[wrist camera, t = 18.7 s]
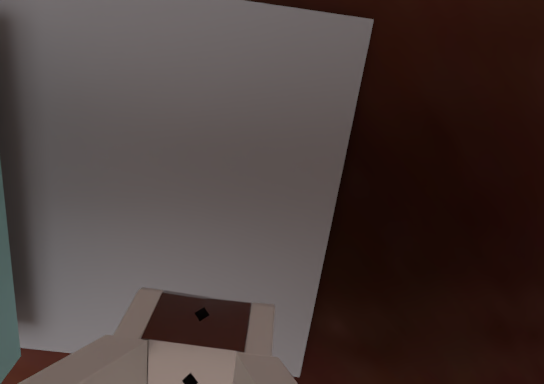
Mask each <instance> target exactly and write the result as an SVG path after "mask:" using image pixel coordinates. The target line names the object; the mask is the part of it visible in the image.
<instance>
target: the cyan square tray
mask: <svg viewBox="0 0 544 384" xmlns="http://www.w3.org/2000/svg"><path fill="white" fill-rule="evenodd" d="M20 356H21V351H20V341H19V332H18V322H17V313H16V303H15V294H14V285H13V275H12V266H11V256H10V247H9V237H8V228H7V218H6V209H5V199H4V190H3V180H2V171H1V161H0V384H1V382H2V381H3V380H4V378H5V377H6V376H7V374H8V373H9V371H10V370H11V369H12V367H13V366H14V365H15V363H16V362H17V361H18V359H19V358H20Z"/></svg>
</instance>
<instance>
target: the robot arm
mask: <svg viewBox="0 0 544 384" xmlns="http://www.w3.org/2000/svg"><path fill="white" fill-rule="evenodd" d="M250 310H251V311H250ZM274 314H275V306H274V304H265V303H256V302H252V305H251V303H248V302H241V301H233V300H225V299H217V298H210V297H205V296H199V295H192V294H186V293H179V292H173V291H167V290H165V291H163V290H159V289H152V288H145V287H142V288H141V289H139V290H138V292H137V293H136V295H135V297H134V299H133V300H132V302H131V304H130V306H129V308H128V309H127V311H126V313H125V315H124V317H123V318H122V320H121V322H120V324H119V325H118V327H117V329H116V331H115V333H114V334H113V336H112V335H105V336H103V337H101V338H99V339H97V340H96V341H94V342H92V343H90V344H88V345H87V346H85V347H83V348H81V349H79V350H78V351H76V352H74V353H72V354H70V355H69V356H67V357H65V358H63V359H61V360H60V361H58V362H56V363H54V364H52V365H51V366H49V367H47V368H45V369H43V370H42V371H40V372H38V373H36V374H34V375H33V376H31V377H29V378H27V379H25V380H23V381H22V382H20V383H18V384H298V383H297V382H296V381H295V379H294V378H293V376H292V375H291V374H290V372H289V371H288V370H287V368H286V367H285V366H284V364H283V363H282V362H281V360H280V359H279V358H278V357H272V345H273V330H274ZM249 318H250V319H249Z"/></svg>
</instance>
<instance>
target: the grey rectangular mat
mask: <svg viewBox="0 0 544 384" xmlns="http://www.w3.org/2000/svg"><path fill="white" fill-rule="evenodd" d="M373 22H374V19H368V18H361V17H354V16H347V15H340V14H334V13H327V12H320V11H313V10H306V9H300V8H293V7H286V6H279V5H272V4H266V3H259V2H252V1H245V0H0V161H1V171H2V180H3V190H4V199H5V209H6V218H7V228H8V237H9V247H10V256H11V266H12V275H13V285H14V294H15V303H16V313H17V322H18V332H19V341H20V348H28V349H37V350H46V351H56V352H65V353H74V352H76V351H78V350H79V349H81V348H83V347H85V346H87V345H88V344H90V343H92V342H94V341H96V340H97V339H99V338H101V337H103V336H105V335H112V336H113V334H114V333H115V331H116V329H117V327H118V325H119V324H120V322H121V320H122V318H123V317H124V315H125V313H126V311H127V309H128V308H129V306H130V304H131V302H132V300H133V299H134V297H135V295H136V293H137V292H138V290H139V289H141V288H142V287H145V288H152V289H159V290H163V291H165V290H167V291H173V292H179V293H186V294H192V295H199V296H205V297H210V298H217V299H225V300H233V301H241V302H248V303H251V305H252V302H256V303H265V304H274V306H275V314H274V330H273V345H272V357H278V358H279V359H280V360H281V362H282V363H283V364H284V366H285V367H286V368H287V370H288V371H289V372H290V374H291V375H292V376H293V377H300V372H301V368H302V363H303V358H304V353H305V348H306V344H307V339H308V334H309V329H310V324H311V320H312V315H313V310H314V305H315V300H316V296H317V291H318V286H319V281H320V276H321V272H322V267H323V262H324V257H325V252H326V248H327V243H328V238H329V233H330V228H331V224H332V219H333V214H334V209H335V204H336V199H337V195H338V190H339V185H340V180H341V175H342V171H343V166H344V161H345V156H346V151H347V147H348V142H349V137H350V132H351V127H352V123H353V118H354V113H355V108H356V103H357V99H358V94H359V89H360V84H361V79H362V75H363V70H364V65H365V60H366V55H367V50H368V46H369V41H370V36H371V31H372V26H373ZM250 311H251V310H250ZM249 319H250V318H249Z"/></svg>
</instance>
